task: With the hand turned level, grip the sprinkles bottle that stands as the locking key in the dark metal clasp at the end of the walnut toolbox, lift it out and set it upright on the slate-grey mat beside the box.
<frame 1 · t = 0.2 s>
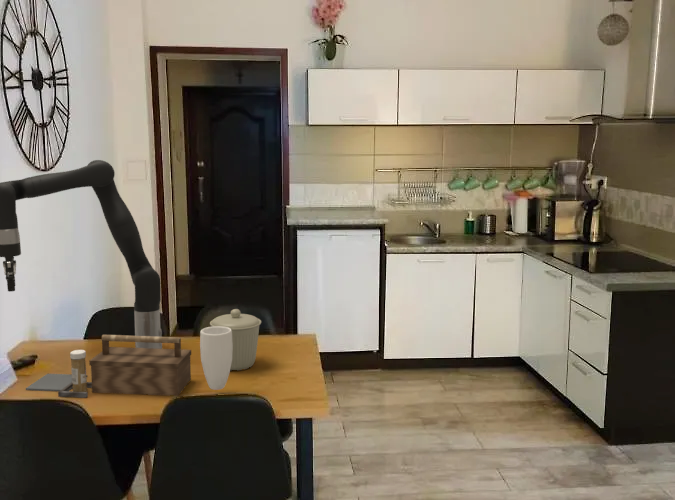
hand: (11, 288, 226), 29 cm above the table, tool pointing down, fingers open, 8 cm apart
slate mat: (57, 383, 219), on the table
toolbox: (142, 386, 218), on the table
canister: (236, 366, 239), on the table
cup: (217, 396, 210), on the table
sprinkles bottle: (79, 392, 212), resting in toolbox
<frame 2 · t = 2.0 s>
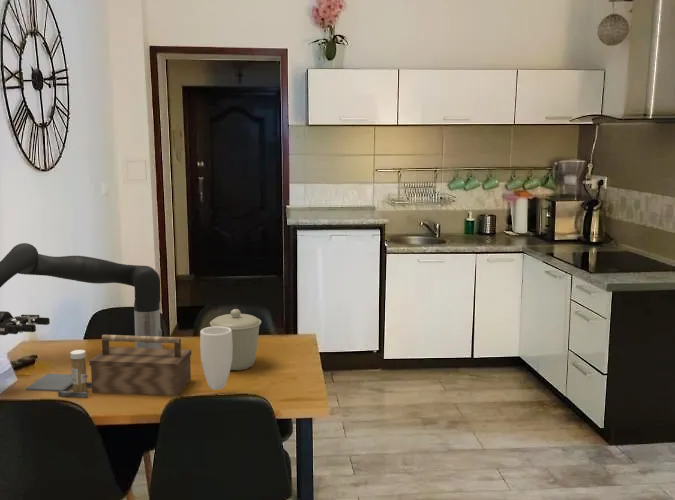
hand: (42, 324, 209), 22 cm above the table, tool horizontal, fingers open, 8 cm apart
nothing on the table moved.
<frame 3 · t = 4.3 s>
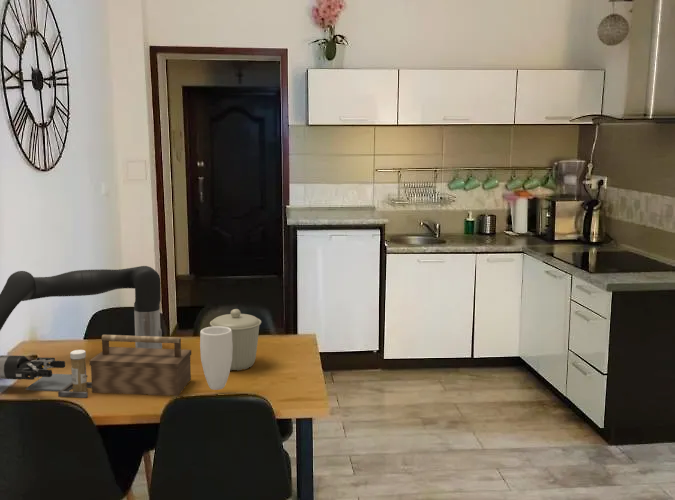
hand: (58, 368, 212), 7 cm above the table, tool horizontal, fingers open, 8 cm apart
nothing on the table moved.
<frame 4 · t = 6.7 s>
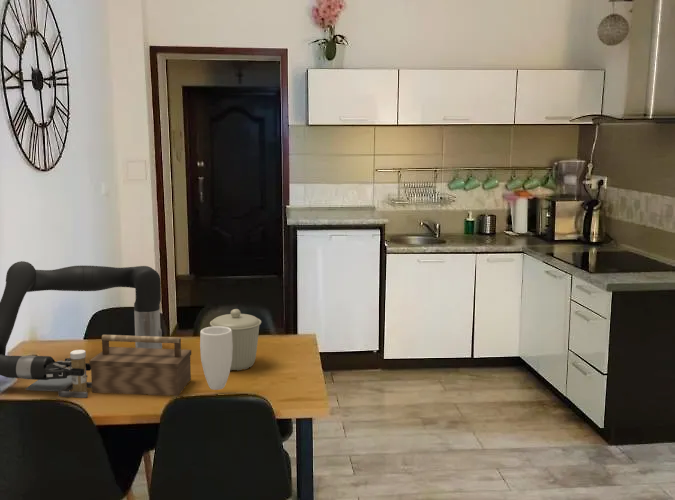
hand: (87, 369, 211), 8 cm above the table, tool horizontal, fingers closed on sprinkles bottle, 4 cm apart
sprinkles bottle: (79, 392, 212), resting in toolbox, touching gripper
everything else where it was.
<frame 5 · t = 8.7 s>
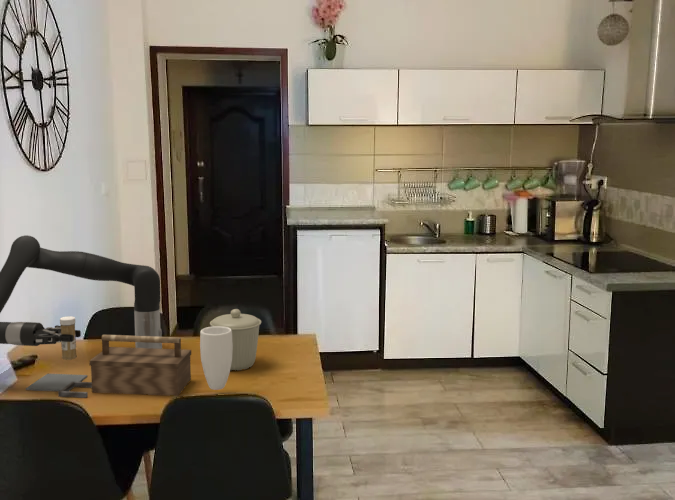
hand: (76, 336, 212), 18 cm above the table, tool horizontal, fingers closed on sprinkles bottle, 4 cm apart
sprinkles bottle: (69, 358, 213), point 10 cm above the table, touching gripper
everything else where it was.
when the fingers open (9 cm above the table, at t = 11.2 s): sprinkles bottle drops 1 cm, resting on slate mat.
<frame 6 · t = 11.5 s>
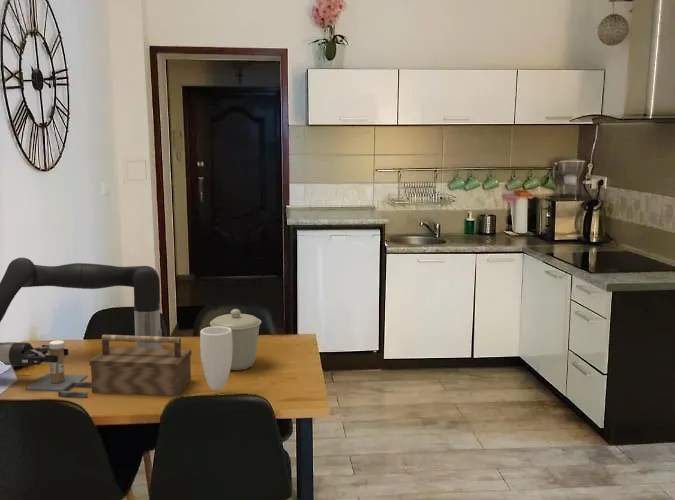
hand: (62, 355, 218), 10 cm above the table, tool horizontal, fingers open, 6 cm apart
sprinkles bottle: (57, 381, 219), resting on slate mat
everything else where it was.
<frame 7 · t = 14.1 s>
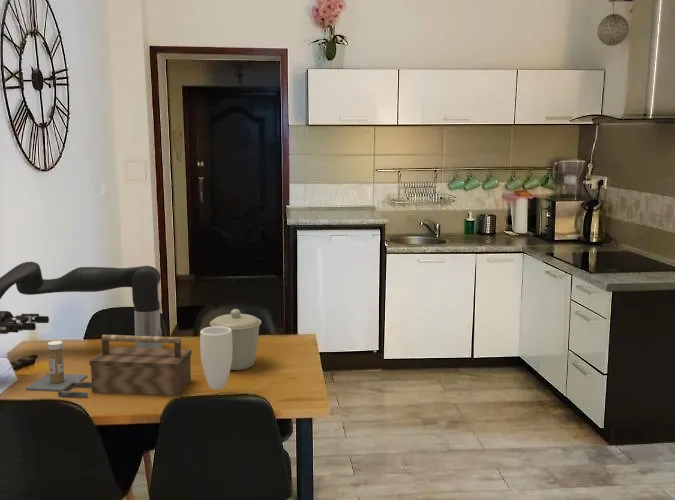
hand: (42, 323, 217), 20 cm above the table, tool horizontal, fingers open, 8 cm apart
nothing on the table moved.
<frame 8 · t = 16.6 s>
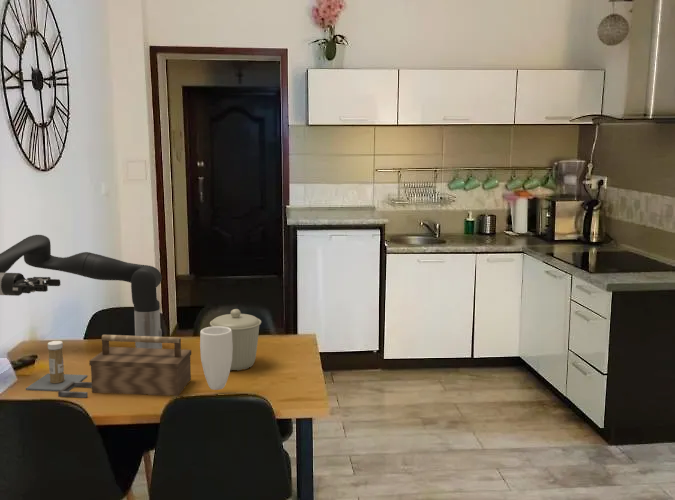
hand: (53, 285, 219), 32 cm above the table, tool horizontal, fingers open, 8 cm apart
nothing on the table moved.
at the end: sprinkles bottle inside the target area on the slate mat (0.1 cm from its centre), point 0.4 cm above the slate mat's base; sprinkles bottle tilted 0°; the gripper is holding nothing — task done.
